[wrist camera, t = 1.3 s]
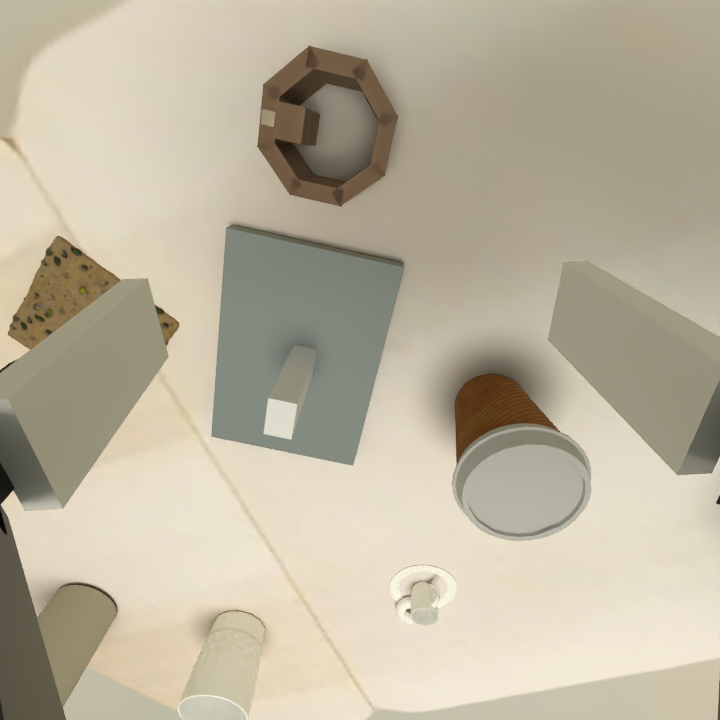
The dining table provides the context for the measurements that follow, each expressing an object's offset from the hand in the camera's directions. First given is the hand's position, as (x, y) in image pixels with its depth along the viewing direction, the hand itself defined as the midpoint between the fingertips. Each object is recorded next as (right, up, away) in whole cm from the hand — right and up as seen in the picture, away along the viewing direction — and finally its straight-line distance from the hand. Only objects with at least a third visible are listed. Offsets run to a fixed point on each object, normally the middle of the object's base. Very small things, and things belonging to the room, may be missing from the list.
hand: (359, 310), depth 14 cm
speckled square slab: (-24, +1, +26) cm, 36 cm away
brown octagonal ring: (-2, +15, +18) cm, 23 cm away
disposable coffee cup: (+12, -6, +27) cm, 30 cm away
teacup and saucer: (+4, -29, +39) cm, 48 cm away
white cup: (-16, -37, +43) cm, 59 cm away
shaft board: (-5, -1, +25) cm, 26 cm away
